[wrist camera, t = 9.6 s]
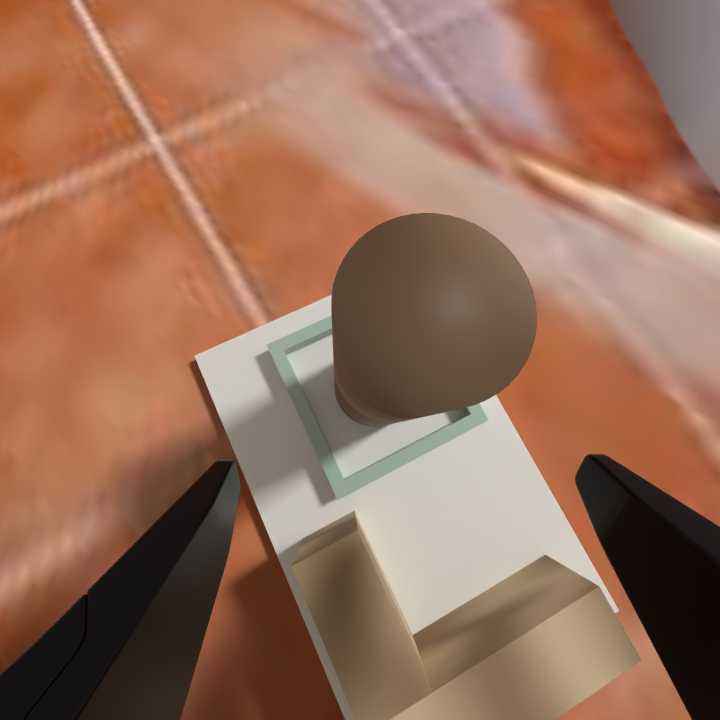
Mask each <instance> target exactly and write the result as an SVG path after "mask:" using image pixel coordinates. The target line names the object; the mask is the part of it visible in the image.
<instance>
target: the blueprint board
mask: <svg viewBox="0 0 720 720" xmlns="http://www.w3.org/2000/svg"><path fill="white" fill-rule="evenodd" d="M331 299H332V295H330V296H328V297H326V298H324V299H321V300H319V301H317V302H315V303H312V304H310V305H308V306H306V307H303V308H301V309H299V310H297V311H294V312H292V313H290V314H288V315H285V316H283V317H281V318H279V319H276V320H274V321H272V322H270V323H267V324H265V325H263V326H260V327H258V328H256V329H254V330H251V331H249V332H247V333H245V334H242V335H240V336H238V337H236V338H233V339H231V340H229V341H227V342H224V343H222V344H220V345H218V346H215V347H213V348H211V349H209V350H206V351H204V352H202V353H200V354H197V355H195V358H196V361H197V363H198V366H199V368H200V371H201V373H202V375H203V378H204V380H205V383H206V385H207V387H208V390H209V392H210V395H211V397H212V400H213V402H214V404H215V407H216V409H217V412H218V414H219V416H220V419H221V421H222V424H223V426H224V429H225V431H226V433H227V436H228V438H229V441H230V443H231V445H232V448H233V450H234V453H235V455H236V458H237V460H238V462H239V465H240V467H241V470H242V472H243V474H244V477H245V479H246V482H247V484H248V487H249V489H250V491H251V494H252V496H253V499H254V501H255V503H256V506H257V508H258V511H259V513H260V516H261V518H262V520H263V523H264V525H265V528H266V530H267V532H268V535H269V537H270V540H271V542H272V545H273V547H274V549H275V552H276V554H277V557H278V559H279V561H280V564H281V566H282V569H283V571H284V574H285V576H286V578H287V581H288V583H289V586H290V588H291V590H292V593H293V595H294V598H295V600H296V603H297V605H298V607H299V610H300V612H301V615H302V617H303V619H304V622H305V624H306V627H307V629H308V631H309V634H310V636H311V639H312V641H313V644H314V646H315V648H316V651H317V653H318V656H319V658H320V660H321V663H322V665H323V668H324V670H325V673H326V675H327V677H328V680H329V682H330V685H331V687H332V689H333V692H334V694H335V697H336V699H337V702H338V704H339V706H340V709H341V711H342V714H343V716H344V718H345V720H355V717H354V715H353V713H352V710H351V708H350V705H349V703H348V701H347V698H346V696H345V693H344V691H343V689H342V686H341V684H340V682H339V679H338V677H337V674H336V672H335V670H334V667H333V665H332V662H331V660H330V658H329V655H328V653H327V651H326V648H325V646H324V643H323V641H322V639H321V636H320V634H319V631H318V629H317V627H316V624H315V622H314V619H313V617H312V615H311V612H310V610H309V608H308V605H307V603H306V600H305V598H304V596H303V593H302V591H301V588H300V586H299V584H298V581H297V579H296V576H295V574H294V572H293V569H292V567H291V566H292V564H293V561H294V559H295V556H296V554H297V551H298V549H299V546H300V544H301V542H302V539H303V538H304V537H306V536H308V535H310V534H312V533H314V532H316V531H317V530H319V529H321V528H323V527H325V526H327V525H329V524H330V523H332V522H334V521H336V520H338V519H340V518H341V517H343V516H345V515H347V514H349V513H351V512H353V511H354V510H355V512H356V514H357V516H358V518H359V521H360V523H361V525H362V527H363V529H364V531H365V533H366V536H367V538H368V540H369V542H370V544H371V546H372V549H373V551H374V553H375V555H376V557H377V559H378V561H379V564H380V566H381V568H382V570H383V572H384V574H385V577H386V579H387V581H388V583H389V585H390V587H391V590H392V592H393V594H394V596H395V598H396V600H397V602H398V605H399V607H400V609H401V611H402V613H403V615H404V618H405V620H406V622H407V624H408V626H409V628H410V630H411V633H412V635H413V634H415V633H417V632H418V631H420V630H422V629H423V628H425V627H427V626H428V625H430V624H432V623H433V622H435V621H437V620H438V619H440V618H441V617H443V616H445V615H446V614H448V613H450V612H451V611H453V610H455V609H456V608H458V607H460V606H461V605H463V604H465V603H466V602H468V601H469V600H471V599H473V598H474V597H476V596H478V595H479V594H481V593H483V592H484V591H486V590H488V589H489V588H491V587H493V586H494V585H496V584H498V583H499V582H501V581H502V580H504V579H506V578H507V577H509V576H511V575H512V574H514V573H516V572H517V571H519V570H521V569H522V568H524V567H526V566H527V565H529V564H530V563H532V562H534V561H535V560H537V559H539V558H540V557H542V556H544V555H547V556H549V557H550V558H552V559H554V560H556V561H557V562H559V563H561V564H562V565H564V566H566V567H567V568H569V569H571V570H573V571H574V572H576V573H578V574H579V575H581V576H583V577H584V578H586V579H588V580H590V581H591V582H593V583H595V584H596V585H598V586H599V587H600V588H601V590H602V592H603V594H604V595H605V597H606V599H607V601H608V602H609V604H610V606H611V608H612V609H613V611H614V613H616V612H618V611H619V610H618V608H617V606H616V605H615V603H614V601H613V599H612V598H611V596H610V594H609V592H608V591H607V589H606V587H605V585H604V584H603V582H602V580H601V578H600V577H599V575H598V573H597V571H596V570H595V568H594V566H593V564H592V563H591V561H590V559H589V557H588V556H587V554H586V552H585V550H584V549H583V547H582V545H581V543H580V542H579V540H578V538H577V536H576V535H575V533H574V531H573V529H572V528H571V526H570V524H569V522H568V521H567V519H566V517H565V515H564V514H563V512H562V510H561V508H560V507H559V505H558V503H557V501H556V500H555V498H554V496H553V494H552V493H551V491H550V489H549V487H548V486H547V484H546V482H545V480H544V479H543V477H542V475H541V473H540V472H539V470H538V468H537V466H536V465H535V463H534V461H533V459H532V458H531V456H530V454H529V452H528V450H527V449H526V447H525V445H524V443H523V442H522V440H521V438H520V436H519V435H518V433H517V431H516V429H515V428H514V426H513V424H512V422H511V421H510V419H509V417H508V415H507V414H506V412H505V410H504V408H503V407H502V405H501V403H500V401H499V400H498V398H497V396H496V395H494V396H493V397H491V398H490V399H488V400H486V401H483V402H481V403H479V404H476V405H473V406H470V407H466V408H462V409H458V410H453V411H449V412H444V413H440V414H435V415H431V416H426V417H421V418H417V419H412V420H408V421H403V422H399V423H394V424H389V425H385V426H378V427H372V426H366V425H363V424H360V423H358V422H356V421H354V420H352V419H351V418H350V417H349V416H347V414H346V413H345V412H344V411H343V410H342V408H341V407H340V405H339V403H338V401H337V398H336V394H335V387H334V363H333V339H332V315H331Z"/></svg>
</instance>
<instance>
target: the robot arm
mask: <svg viewBox="0 0 720 720" xmlns="http://www.w3.org/2000/svg"><path fill="white" fill-rule="evenodd" d="M575 482H576V486H577V488H578V491H579V493H580V495H581V498H582V500H583V503H584V505H585V508H586V510H587V513H588V515H589V518H590V520H591V523H592V525H593V527H594V530H595V532H596V535H597V537H598V539H599V541H600V544H601V546H602V548H603V550H604V552H605V554H606V556H607V557H608V559H609V561H610V563H611V565H612V567H613V569H614V571H615V573H616V575H617V577H618V579H619V581H620V582H621V584H622V586H623V588H624V590H625V592H626V594H627V596H628V598H629V600H630V602H631V604H632V606H633V607H634V609H635V611H636V613H637V615H638V617H639V619H640V621H641V623H642V625H643V627H644V629H645V630H646V632H647V634H648V636H649V638H650V640H651V642H652V644H653V646H654V648H655V650H656V652H657V654H658V655H659V657H660V659H661V661H662V663H663V665H664V667H665V669H666V671H667V673H668V675H669V677H670V679H671V680H672V682H673V684H674V686H675V688H676V690H677V692H678V694H679V696H680V698H681V700H682V702H683V704H684V705H685V707H686V709H687V711H688V713H689V715H690V717H691V719H692V720H720V527H719V526H718V525H716V524H715V523H713V522H711V521H710V520H708V519H707V518H705V517H703V516H702V515H700V514H699V513H697V512H695V511H694V510H692V509H691V508H689V507H688V506H686V505H684V504H683V503H681V502H680V501H678V500H676V499H675V498H673V497H672V496H670V495H668V494H667V493H665V492H664V491H662V490H661V489H659V488H657V487H656V486H654V485H653V484H651V483H649V482H648V481H646V480H645V479H643V478H641V477H640V476H638V475H637V474H635V473H634V472H632V471H630V470H629V469H627V468H626V467H624V466H622V465H621V464H619V463H618V462H616V461H614V460H613V459H611V458H610V457H608V456H606V455H603V454H589V455H587V456H585V458H584V460H583V461H582V463H581V465H580V467H579V469H578V471H577V473H576V476H575ZM240 488H241V483H240V478H239V474H238V469H237V465H236V462H235V461H234V460H218V461H216V462H215V463H214V464H213V465H212V466H211V467H210V468H209V469H208V470H207V471H206V472H205V473H204V474H203V475H202V476H201V477H200V478H199V479H198V480H197V481H196V482H195V483H194V484H193V485H192V486H191V487H190V488H189V489H188V490H187V491H186V492H185V493H184V494H183V495H182V496H181V497H180V498H179V499H178V500H177V501H176V502H175V503H174V504H173V505H172V506H171V507H170V508H169V509H168V510H167V511H166V512H165V513H164V514H163V515H162V516H161V517H160V518H159V519H158V520H157V521H156V522H155V523H154V524H153V525H152V526H151V527H150V528H149V529H148V530H147V531H146V532H145V533H144V534H143V535H142V536H141V537H140V538H139V539H138V540H137V542H136V543H135V544H134V545H133V546H132V547H131V548H130V549H129V550H128V551H127V552H126V553H125V554H124V555H123V556H122V557H121V558H120V559H119V560H118V561H117V562H116V563H115V564H114V565H113V566H112V567H111V568H110V569H109V570H108V571H107V572H106V573H105V574H104V575H103V576H102V577H101V578H100V579H99V580H98V581H97V582H96V583H95V584H94V585H93V586H92V587H91V588H90V589H89V590H88V592H87V594H84V595H83V596H82V597H81V598H80V599H79V600H78V601H77V602H76V603H75V604H74V605H73V606H72V607H71V608H70V609H69V610H68V611H67V612H66V613H65V614H64V615H63V616H62V617H61V618H60V619H59V620H58V621H57V622H56V623H55V624H54V625H53V626H52V627H51V628H50V629H48V630H47V631H46V632H45V633H44V634H43V635H42V636H41V637H40V638H39V639H38V640H37V641H36V642H35V643H34V644H33V645H32V646H31V647H30V648H29V649H28V650H26V651H25V652H24V653H23V654H22V655H21V656H20V657H19V658H18V659H17V660H16V661H14V662H13V663H12V664H11V665H10V666H9V667H8V668H7V669H6V670H5V671H4V672H2V673H1V674H0V720H180V718H181V715H182V712H183V708H184V705H185V701H186V698H187V695H188V691H189V688H190V684H191V681H192V678H193V674H194V671H195V667H196V664H197V660H198V657H199V654H200V650H201V647H202V643H203V640H204V637H205V633H206V630H207V626H208V623H209V620H210V616H211V613H212V609H213V606H214V603H215V599H216V596H217V592H218V589H219V585H220V582H221V579H222V575H223V572H224V568H225V565H226V561H227V558H228V554H229V550H230V544H231V539H232V534H233V528H234V523H235V517H236V511H237V506H238V500H239V495H240Z"/></svg>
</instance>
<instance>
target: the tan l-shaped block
mask: <svg viewBox="0 0 720 720" xmlns="http://www.w3.org/2000/svg"><path fill="white" fill-rule="evenodd" d="M291 567H292V569H293V572H294V574H295V576H296V579H297V581H298V584H299V586H300V588H301V591H302V593H303V596H304V598H305V600H306V603H307V605H308V608H309V610H310V612H311V615H312V617H313V619H314V622H315V624H316V627H317V629H318V631H319V634H320V636H321V639H322V641H323V643H324V646H325V648H326V651H327V653H328V655H329V658H330V660H331V662H332V665H333V667H334V670H335V672H336V674H337V677H338V679H339V682H340V684H341V686H342V689H343V691H344V693H345V696H346V698H347V701H348V703H349V705H350V708H351V710H352V713H353V715H354V717H355V720H555V719H557V718H558V717H560V716H561V715H563V714H564V713H565V712H567V711H568V710H570V709H571V708H573V707H574V706H576V705H577V704H579V703H580V702H582V701H583V700H584V699H586V698H587V697H589V696H590V695H592V694H593V693H595V692H596V691H598V690H599V689H600V688H602V687H603V686H605V685H606V684H608V683H609V682H611V681H612V680H614V679H615V678H617V677H618V676H619V675H621V674H622V673H624V672H625V671H627V670H628V669H630V668H631V667H633V666H634V665H635V664H637V663H638V662H640V661H641V659H640V657H639V655H638V653H637V652H636V650H635V648H634V646H633V645H632V643H631V641H630V639H629V638H628V636H627V634H626V632H625V631H624V629H623V627H622V625H621V624H620V622H619V620H618V618H617V616H616V615H615V613H614V611H613V609H612V608H611V606H610V604H609V602H608V601H607V599H606V597H605V595H604V594H603V592H602V590H601V588H600V587H599V586H598V585H596V584H595V583H593V582H591V581H590V580H588V579H586V578H584V577H583V576H581V575H579V574H578V573H576V572H574V571H573V570H571V569H569V568H567V567H566V566H564V565H562V564H561V563H559V562H557V561H556V560H554V559H552V558H550V557H549V556H547V555H544V556H542V557H540V558H539V559H537V560H535V561H534V562H532V563H530V564H529V565H527V566H526V567H524V568H522V569H521V570H519V571H517V572H516V573H514V574H512V575H511V576H509V577H507V578H506V579H504V580H502V581H501V582H499V583H498V584H496V585H494V586H493V587H491V588H489V589H488V590H486V591H484V592H483V593H481V594H479V595H478V596H476V597H474V598H473V599H471V600H469V601H468V602H466V603H465V604H463V605H461V606H460V607H458V608H456V609H455V610H453V611H451V612H450V613H448V614H446V615H445V616H443V617H441V618H440V619H438V620H437V621H435V622H433V623H432V624H430V625H428V626H427V627H425V628H423V629H422V630H420V631H418V632H417V633H415V634H413V635H412V633H411V630H410V628H409V626H408V624H407V622H406V620H405V618H404V615H403V613H402V611H401V609H400V607H399V605H398V602H397V600H396V598H395V596H394V594H393V592H392V590H391V587H390V585H389V583H388V581H387V579H386V577H385V574H384V572H383V570H382V568H381V566H380V564H379V561H378V559H377V557H376V555H375V553H374V551H373V549H372V546H371V544H370V542H369V540H368V538H367V536H366V533H365V531H364V529H363V527H362V525H361V523H360V521H359V518H358V516H357V514H356V512H355V510H354V511H353V512H351V513H349V514H347V515H345V516H343V517H341V518H340V519H338V520H336V521H334V522H332V523H330V524H329V525H327V526H325V527H323V528H321V529H319V530H317V531H316V532H314V533H312V534H310V535H308V536H306V537H304V538H303V539H302V542H301V544H300V546H299V549H298V551H297V554H296V556H295V559H294V561H293V564H292V566H291Z"/></svg>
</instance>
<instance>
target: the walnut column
mask: <svg viewBox="0 0 720 720" xmlns="http://www.w3.org/2000/svg"><path fill="white" fill-rule="evenodd" d="M331 315H332V339H333V363H334V387H335V394H336V398H337V401H338V403H339V405H340V407H341V408H342V410H343V411H344V412H345V413H346V414H347V416H349V417H350V418H351V419H352V420H354V421H356V422H358V423H360V424H363V425H366V426H372V427H378V426H385V425H389V424H394V423H399V422H403V421H408V420H412V419H417V418H421V417H426V416H431V415H435V414H440V413H444V412H449V411H453V410H458V409H462V408H466V407H470V406H473V405H476V404H479V403H481V402H483V401H486V400H488V399H490V398H491V397H493V396H494V395H496V394H498V393H499V392H501V391H502V390H503V389H504V388H505V387H507V386H508V385H509V384H510V383H511V382H512V381H513V380H514V378H515V377H516V376H517V375H518V374H519V372H520V371H521V369H522V368H523V366H524V365H525V363H526V361H527V359H528V357H529V355H530V353H531V350H532V346H533V343H534V340H535V334H536V328H537V312H536V303H535V298H534V294H533V290H532V287H531V285H530V282H529V279H528V277H527V275H526V273H525V271H524V270H523V268H522V266H521V265H520V263H519V262H518V260H517V259H516V257H515V256H514V255H513V254H512V253H511V251H510V250H509V249H508V248H507V247H506V246H505V245H504V244H503V243H502V242H501V241H499V240H498V239H497V238H496V237H495V236H493V235H492V234H490V233H489V232H488V231H486V230H484V229H483V228H481V227H479V226H477V225H475V224H473V223H471V222H468V221H466V220H464V219H460V218H457V217H453V216H449V215H443V214H435V213H420V214H410V215H405V216H400V217H397V218H394V219H391V220H388V221H386V222H384V223H382V224H380V225H378V226H376V227H375V228H373V229H372V230H370V231H369V232H367V233H366V234H365V235H364V236H362V237H361V238H360V239H359V240H358V241H357V242H356V243H355V244H354V245H353V247H352V248H351V249H350V250H349V252H348V253H347V255H346V256H345V258H344V259H343V261H342V263H341V265H340V267H339V269H338V271H337V274H336V278H335V281H334V284H333V291H332V299H331Z"/></svg>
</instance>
